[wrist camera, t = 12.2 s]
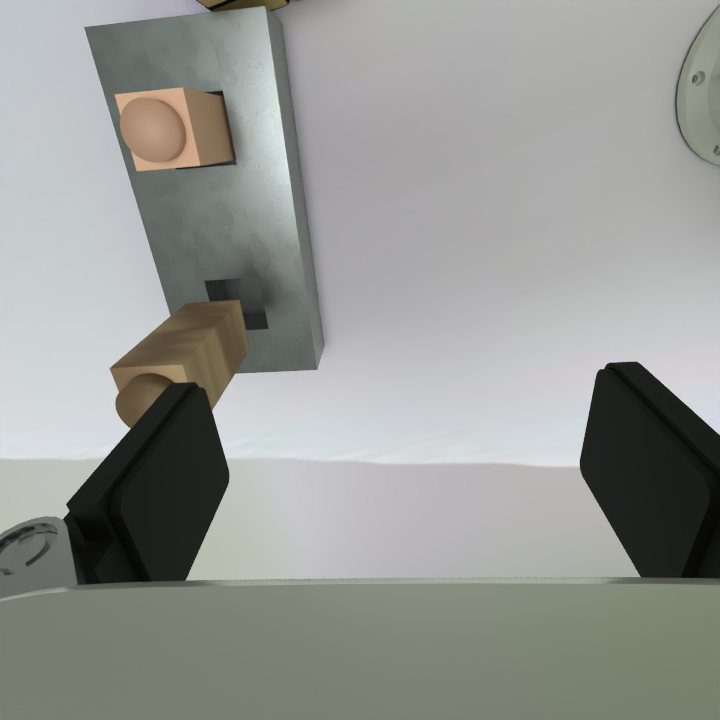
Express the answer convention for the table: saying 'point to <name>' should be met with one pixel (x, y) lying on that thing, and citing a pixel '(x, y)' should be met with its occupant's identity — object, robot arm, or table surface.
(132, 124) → the terracotta plug
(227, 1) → the puzzle cube
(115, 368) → the walnut plug
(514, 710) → the robot arm
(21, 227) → the table surface
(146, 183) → the block
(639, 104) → the table surface
